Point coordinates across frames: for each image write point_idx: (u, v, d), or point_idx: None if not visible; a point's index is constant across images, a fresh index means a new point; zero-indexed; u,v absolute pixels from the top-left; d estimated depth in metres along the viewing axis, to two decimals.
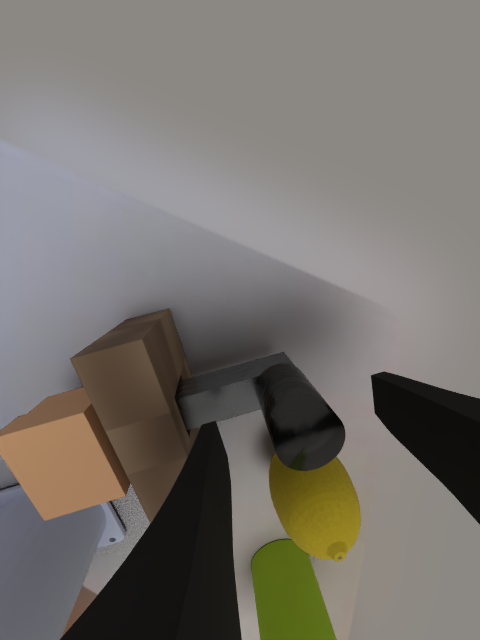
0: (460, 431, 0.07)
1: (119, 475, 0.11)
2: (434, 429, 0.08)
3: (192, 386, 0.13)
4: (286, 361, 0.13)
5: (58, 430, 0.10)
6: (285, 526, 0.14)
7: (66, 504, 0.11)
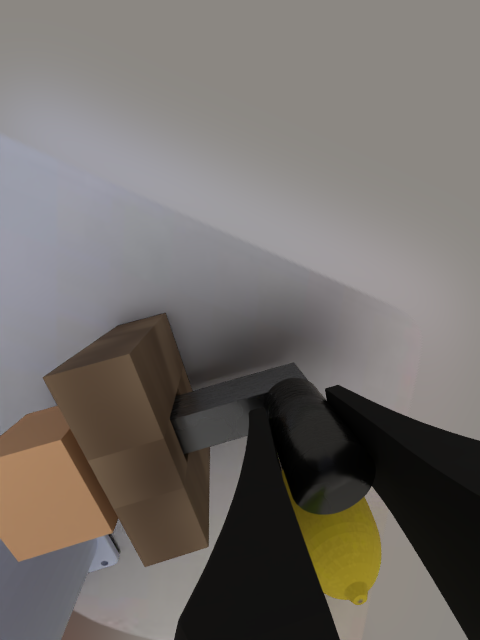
0: (391, 452, 0.07)
1: (105, 508, 0.10)
2: (373, 448, 0.07)
3: (190, 403, 0.11)
4: (297, 374, 0.12)
5: (31, 461, 0.09)
6: None
7: (43, 543, 0.10)
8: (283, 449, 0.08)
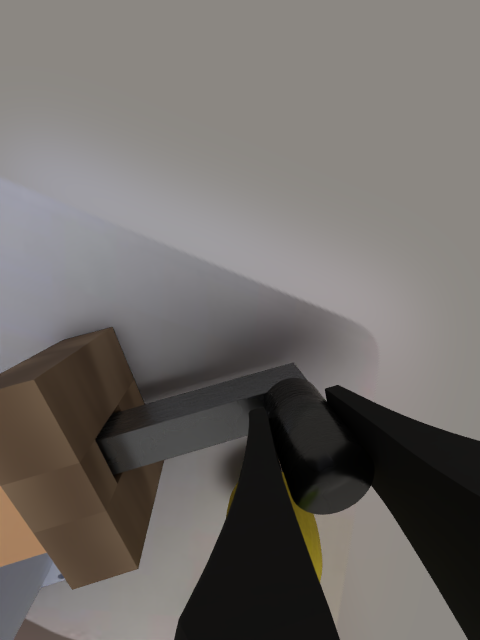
0: (390, 452, 0.07)
1: None
2: (373, 449, 0.07)
3: (190, 403, 0.11)
4: (297, 374, 0.12)
5: None
6: None
7: None
8: (282, 449, 0.08)
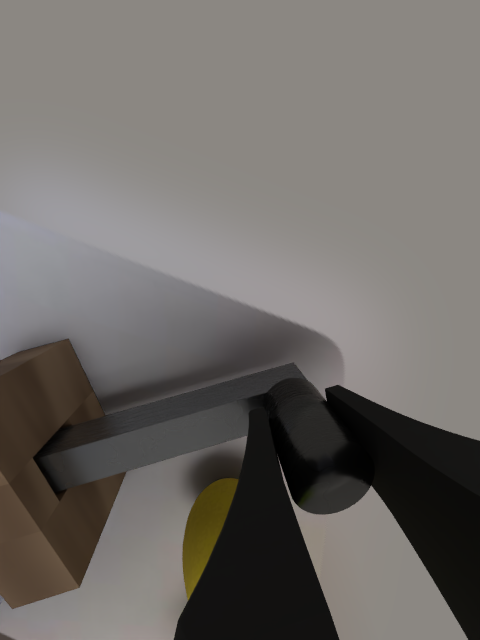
0: (391, 452, 0.07)
1: None
2: (373, 448, 0.07)
3: (190, 403, 0.11)
4: (297, 374, 0.12)
5: None
6: (187, 594, 0.12)
7: None
8: (282, 449, 0.08)
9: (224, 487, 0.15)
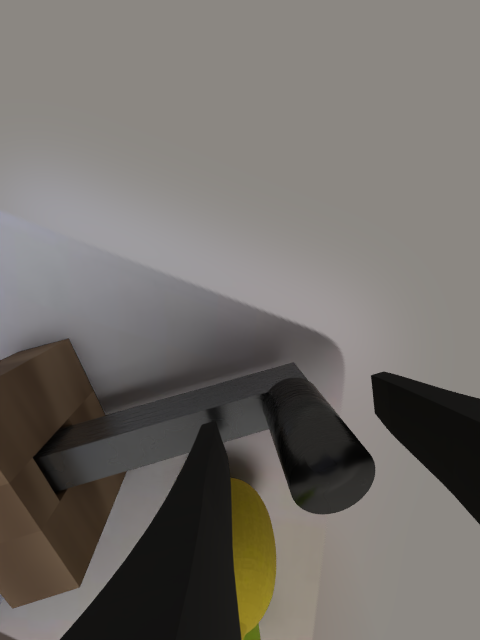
0: (460, 431, 0.07)
1: None
2: (434, 430, 0.08)
3: (190, 403, 0.11)
4: (297, 374, 0.12)
5: None
6: None
7: None
8: (283, 449, 0.08)
9: None
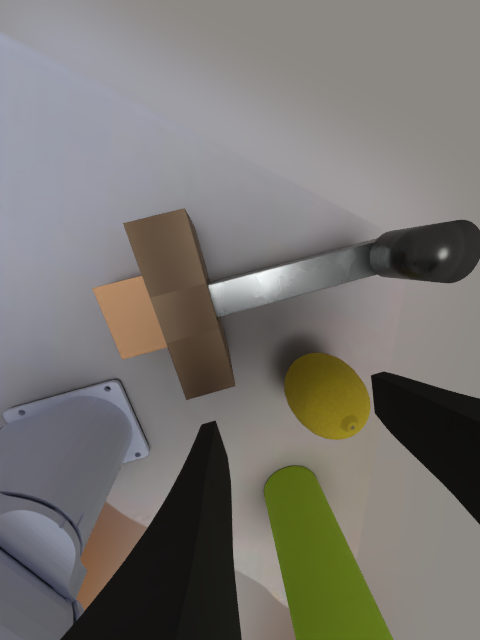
0: (460, 431, 0.07)
1: None
2: (434, 429, 0.08)
3: (310, 257, 0.15)
4: None
5: (137, 285, 0.15)
6: (302, 413, 0.16)
7: (138, 347, 0.16)
8: (412, 244, 0.11)
9: (315, 353, 0.18)
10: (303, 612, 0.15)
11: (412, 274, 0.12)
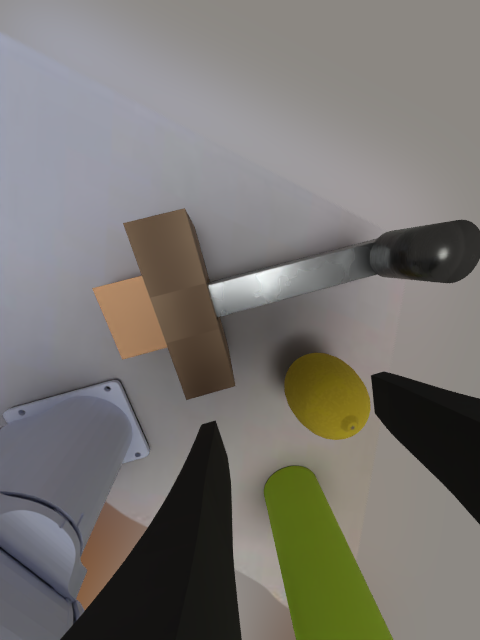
0: (460, 431, 0.07)
1: None
2: (434, 429, 0.08)
3: (310, 257, 0.15)
4: None
5: (137, 285, 0.15)
6: (302, 414, 0.16)
7: (138, 347, 0.16)
8: (412, 244, 0.11)
9: (315, 353, 0.18)
10: (303, 612, 0.15)
11: (412, 274, 0.12)
